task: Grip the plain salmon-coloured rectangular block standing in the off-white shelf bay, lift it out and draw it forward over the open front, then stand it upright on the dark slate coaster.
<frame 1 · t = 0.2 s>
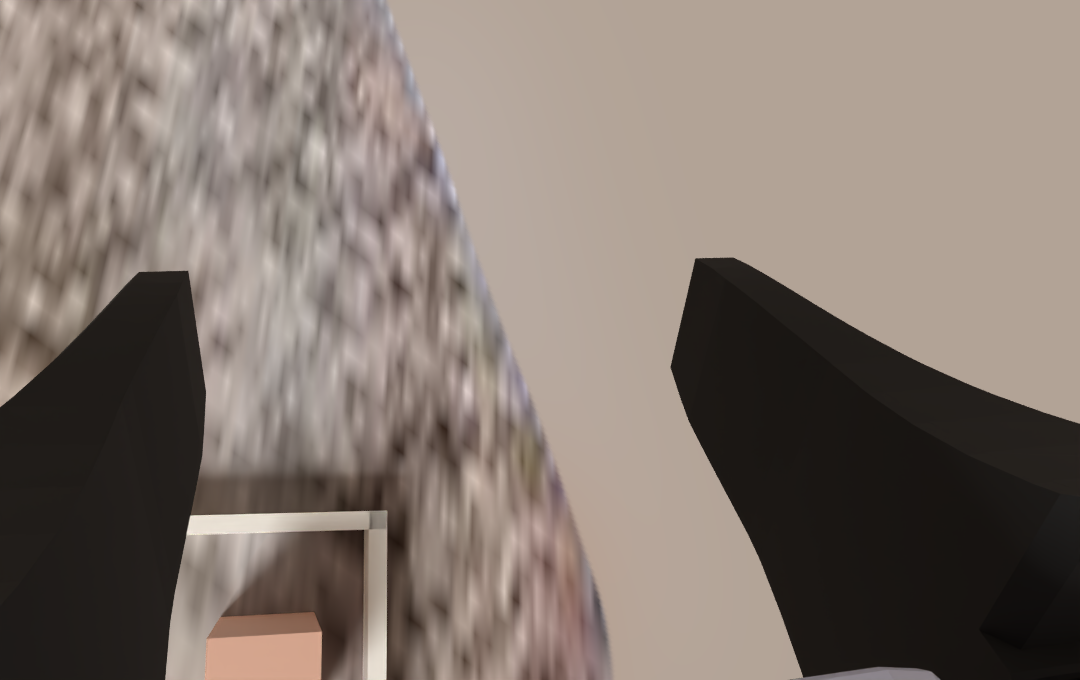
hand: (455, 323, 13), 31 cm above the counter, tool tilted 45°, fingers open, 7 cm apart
shelf bay: (252, 662, 39), on the counter
plain salmon-coloured rectangular block: (266, 661, 40), on the counter
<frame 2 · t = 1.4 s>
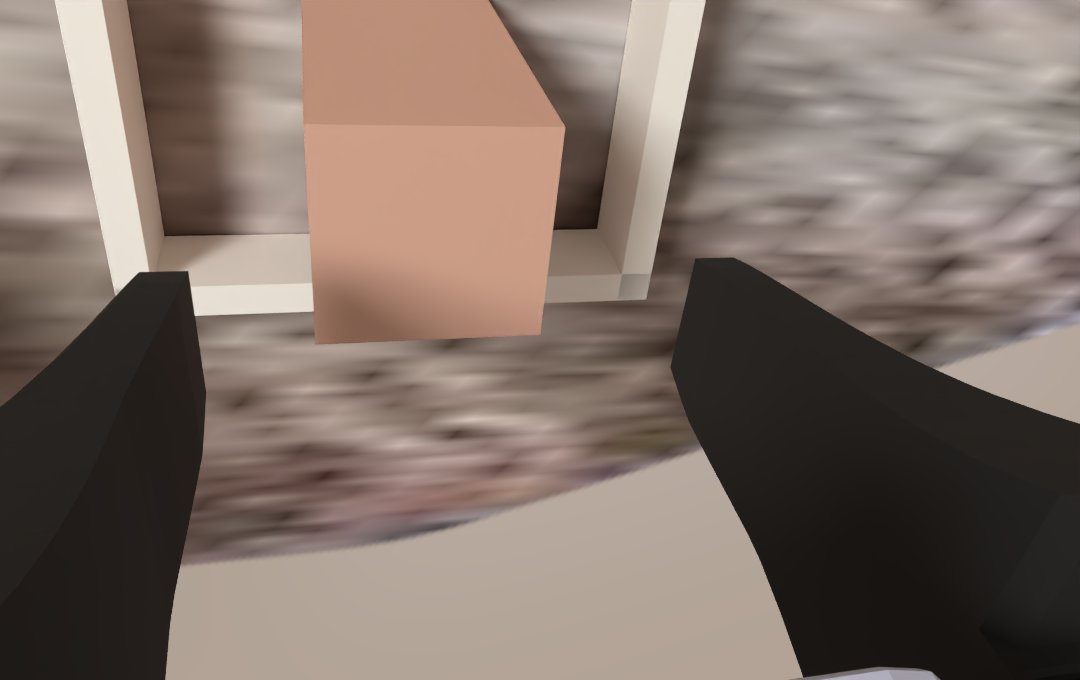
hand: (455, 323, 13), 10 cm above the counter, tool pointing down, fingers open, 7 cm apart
shelf bay: (393, 49, 21), on the counter
plain salmon-coloured rectangular block: (393, 74, 21), on the counter
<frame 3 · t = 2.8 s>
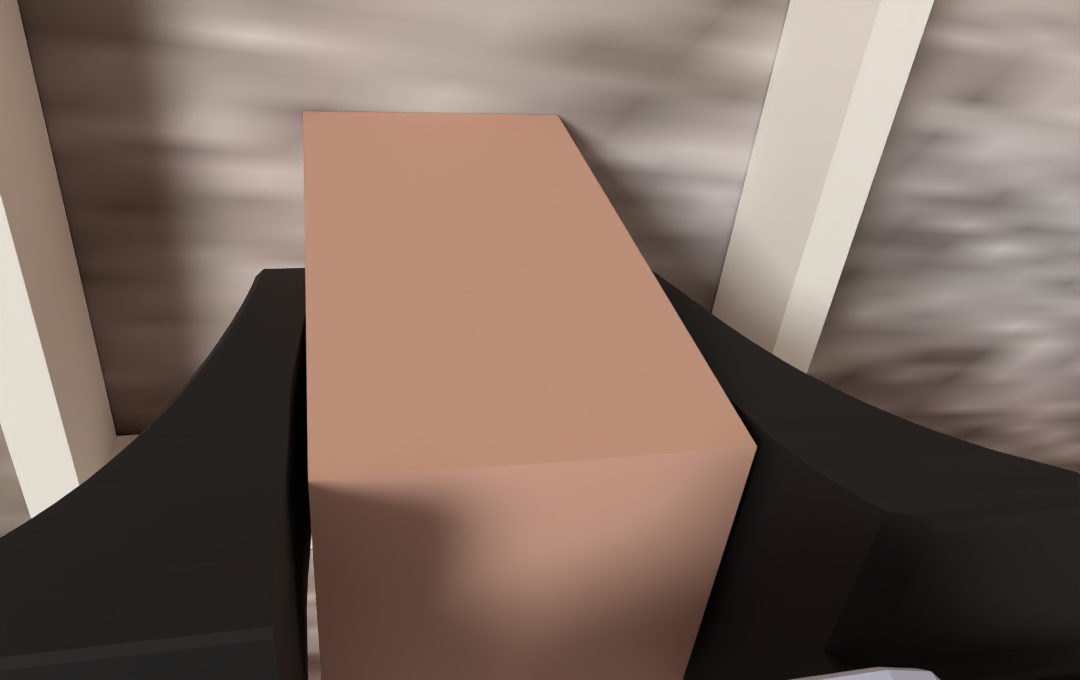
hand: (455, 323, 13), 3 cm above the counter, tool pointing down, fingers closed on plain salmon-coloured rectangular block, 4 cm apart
shelf bay: (431, 194, 15), on the counter
plain salmon-coloured rectangular block: (430, 226, 15), on the counter, touching gripper
when the fingers open (5 cm above the counter, at t = 8.0 s): plain salmon-coloured rectangular block drops 1 cm, resting on coaster.
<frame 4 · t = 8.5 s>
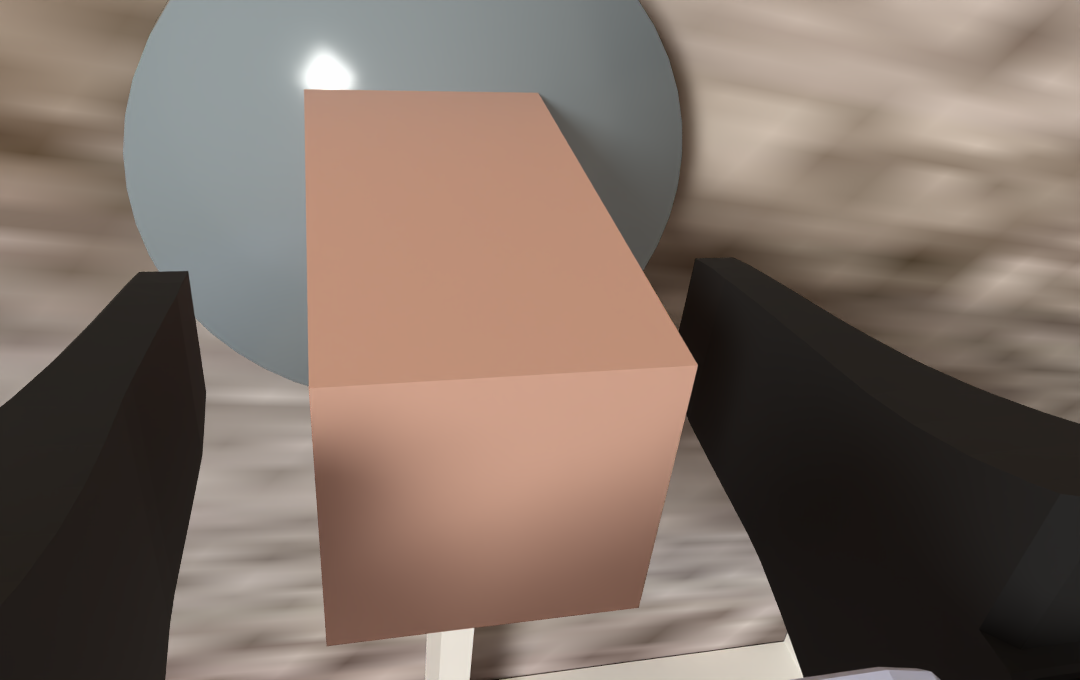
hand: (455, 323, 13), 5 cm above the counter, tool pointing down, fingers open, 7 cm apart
shelf bay: (650, 562, 26), on the counter
coaster: (416, 164, 17), on the counter
plain salmon-coloured rectangular block: (422, 196, 16), point 1 cm above the counter, touching coaster
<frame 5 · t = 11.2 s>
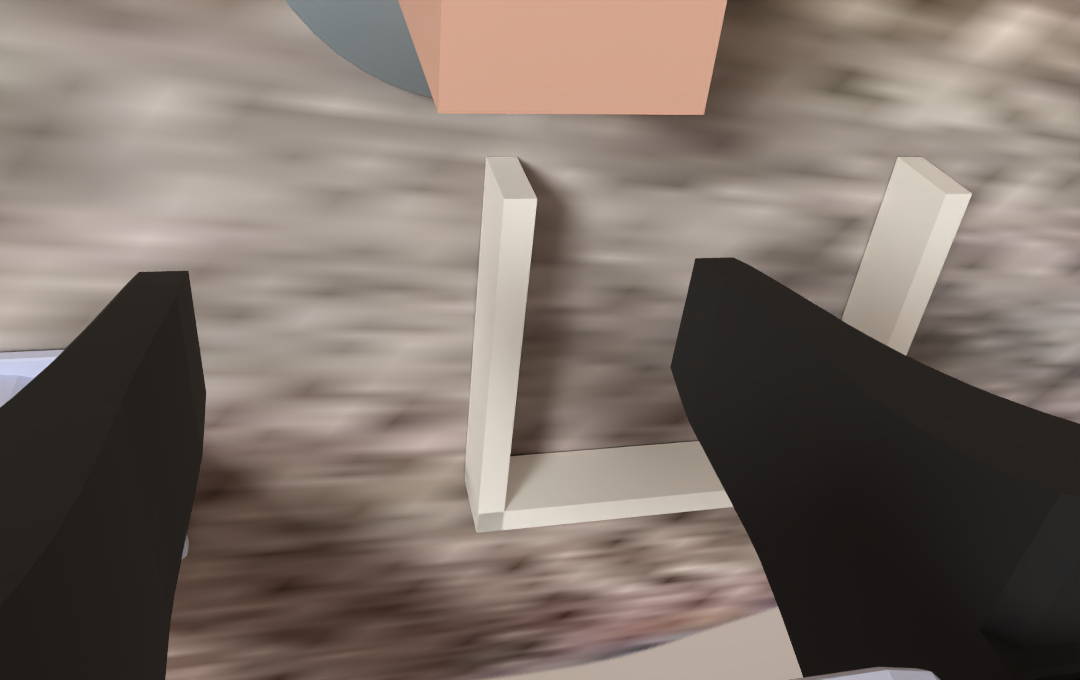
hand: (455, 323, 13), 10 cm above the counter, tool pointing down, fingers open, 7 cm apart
shelf bay: (679, 327, 27), on the counter
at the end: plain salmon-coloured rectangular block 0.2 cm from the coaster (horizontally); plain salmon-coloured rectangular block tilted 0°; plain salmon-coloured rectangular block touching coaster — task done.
